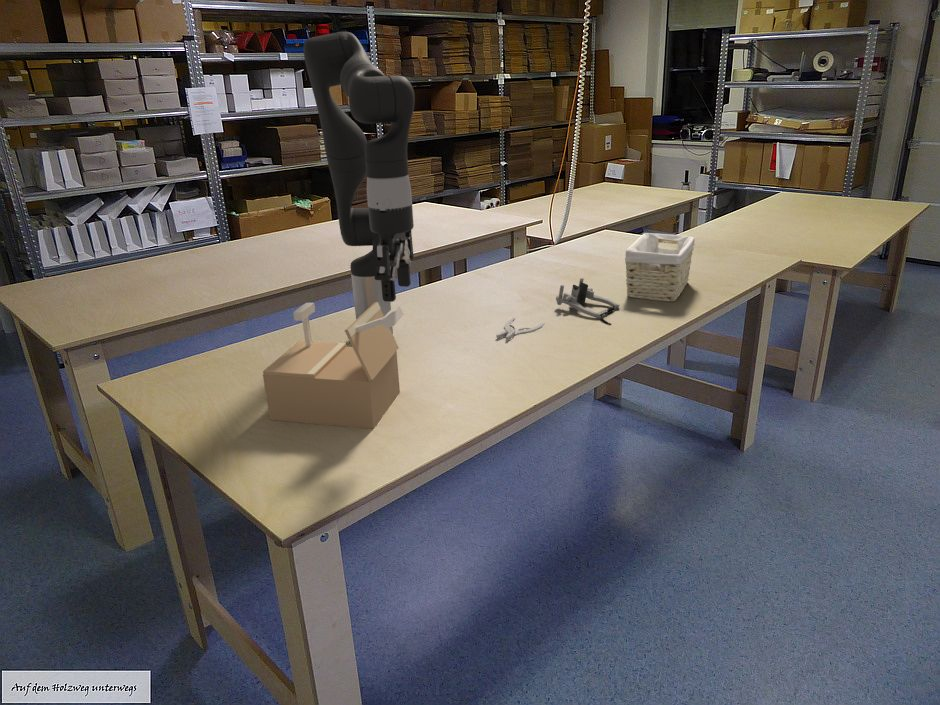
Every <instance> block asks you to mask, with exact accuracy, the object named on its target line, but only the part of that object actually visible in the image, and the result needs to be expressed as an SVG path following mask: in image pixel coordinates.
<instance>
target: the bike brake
mask: <svg viewBox="0 0 940 705" xmlns="http://www.w3.org/2000/svg"><path fill="white" fill-rule="evenodd" d="M564 288H565V285H564V284H560V288H559V293H558V295H556V297H555V301H556V304H557V305H558V306H561V305H562V304H565V305H568V307H571V308H572V309H574V310H577V311H578V312H580V313H583V314H584V315H587V316H589V317H593V318H595V319H600V320H601V321H602V322H603V323H604V324H606V325H609V326H611V325H612V323H611V322H608V321H607V320H605V319H604V317H605V316H608V314H610V313H612V312H613V311H615V310H619V309H620V306H621V304H620V303H617V302H614V301H613V300H610V299H608V298H605V297H602V296H599V295H596V294H595V291H594V290H593V288H592V287H591V288H589V284H587V283H585V282H584V278H583V277H580V279H579V282H578V285H576V284H572V288H571V293H570V294H569V293H567V292H564ZM586 298H587V299H588V300H591V301H594V302H595V301H596V302H599V303H602V304H605V305H608V306H610V307H609V308H608V309H603V310H601V311H599V312H596V311H592V310H590V309H587V308H586V307H584V306H585V304H586Z"/></svg>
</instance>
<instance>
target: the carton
mask: <svg viewBox="0 0 940 705" xmlns="http://www.w3.org/2000/svg"><path fill="white" fill-rule="evenodd" d="M315 312H316V306H315V302H305V303H304V304H302V305H301V306H299V307H298V308H297V309H295V310H294V311H293V312H292V314H293V319H294V321H295V322H296V321H297V322H298V321H300V322H302V330H303V333H304V334H303V335H304V340H298V341H297V342H296V343H295V344H294V345H293V346H291V347H290V348H289V349H288V350H286V352H284V353H283V354H282V355H280V356H279V357H278V358H277V359H275V360H274V361H273V362H272V363H271V364H269V366H267V367H266V368H265V369H263V371H262V377H263V378H262V379H263V384H264V391H265V396H266V401H267V407H268V414H269V419H270V420H272V421H281V422H292V423H293V422H294V423H302V424H313V425H314V424H316V425H327V426H336V427H337V426H339V427H349V428H359V429H360V428H362V429H372V430H373V429H375V428H376V426H377V425H378V423H379V422H380V421H381V419H382V418H383V417H384V415H385V414H386V413H387V411H388V410H389V408H390V407H391V405H392V404H393V403H394V401H395V400H396V399H397V397H398V396H399V394H400V392H401V388H400V379H399V376H400V375H399V366H398V365H399V364H398V353H397V352H398V351H396V352H395V353H394V354H393V356H392V357H391V358H390V359H389V360H388V362H387V363H386V364H385V365H384V366H383V368H382V369H381V370H380V371H379V372H378V374H377V375H376V376H375V377H374V379H373V380H371V381H369V379H368V377H367V375H366V373H365V371H364V369H363V367H362V365H361V363H360V361H359V359H358V357H357V355H356V353H355V351H354V349H353V347H352V346H347V343H346V342H324V341H312V340H313V339H312V333H311V332H312V331H311V325H310V324H311V323H310V318H309V317H310V316H311V315H312V314H313V313H315Z"/></svg>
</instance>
